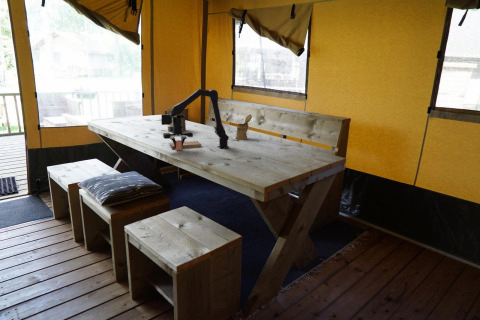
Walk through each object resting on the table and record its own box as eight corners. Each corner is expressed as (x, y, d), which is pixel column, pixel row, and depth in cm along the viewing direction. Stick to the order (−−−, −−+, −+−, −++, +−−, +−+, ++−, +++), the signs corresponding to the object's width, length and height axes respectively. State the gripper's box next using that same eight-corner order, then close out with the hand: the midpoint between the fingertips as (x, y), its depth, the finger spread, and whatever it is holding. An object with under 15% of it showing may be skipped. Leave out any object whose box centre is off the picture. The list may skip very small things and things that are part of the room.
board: (201, 146, 230) (201, 143, 230) (172, 149, 223) (172, 146, 223) (197, 143, 239) (197, 140, 239) (169, 145, 232) (169, 142, 232)
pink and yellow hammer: (181, 149, 221) (181, 141, 219) (176, 150, 219) (176, 141, 218) (177, 145, 232) (177, 137, 231) (172, 145, 231) (172, 137, 229)
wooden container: (164, 130, 282) (163, 104, 276) (179, 128, 292) (178, 102, 285) (173, 133, 272) (172, 106, 265) (189, 131, 281) (188, 104, 275)
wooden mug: (254, 138, 258) (254, 115, 253) (240, 140, 250) (240, 116, 245) (247, 136, 265) (247, 113, 260) (233, 138, 257) (233, 115, 252)
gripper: (188, 121, 228) (189, 143, 232) (161, 123, 221) (162, 145, 225) (192, 124, 218) (193, 147, 222) (163, 126, 211) (165, 149, 215)
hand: (178, 147), depth 222 cm, fingers closed on pink and yellow hammer, 3 cm apart
